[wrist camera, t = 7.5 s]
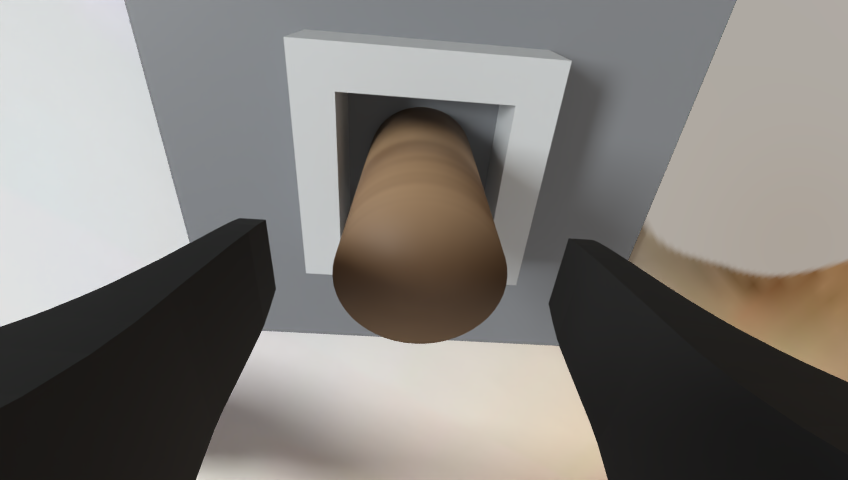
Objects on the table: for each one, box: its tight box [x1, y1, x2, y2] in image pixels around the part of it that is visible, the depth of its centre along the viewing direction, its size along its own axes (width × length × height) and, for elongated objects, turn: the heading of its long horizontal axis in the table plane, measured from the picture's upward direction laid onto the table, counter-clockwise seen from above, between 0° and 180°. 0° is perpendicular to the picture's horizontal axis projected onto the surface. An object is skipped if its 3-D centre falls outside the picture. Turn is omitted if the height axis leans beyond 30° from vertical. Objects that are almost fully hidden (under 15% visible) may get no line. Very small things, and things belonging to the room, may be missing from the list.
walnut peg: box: [332, 107, 507, 344], centre depth 13 cm, size 4×4×8 cm
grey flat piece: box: [124, 0, 736, 346], centre depth 15 cm, size 20×20×4 cm
